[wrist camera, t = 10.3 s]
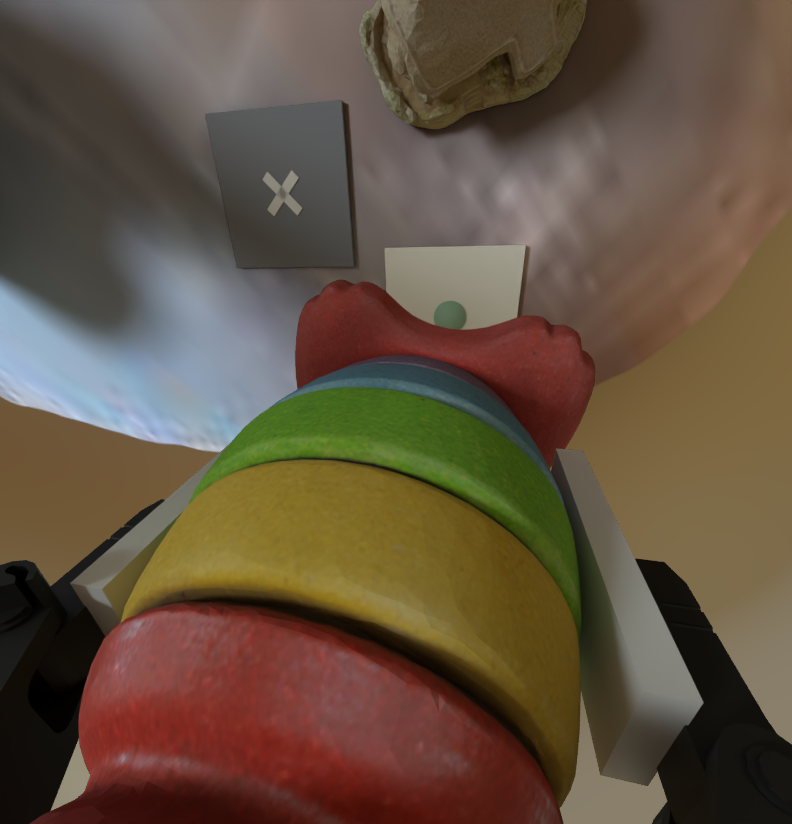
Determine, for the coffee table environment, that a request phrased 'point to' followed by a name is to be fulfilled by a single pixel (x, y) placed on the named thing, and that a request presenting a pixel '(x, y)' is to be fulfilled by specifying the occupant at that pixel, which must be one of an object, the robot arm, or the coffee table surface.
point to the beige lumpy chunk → (465, 53)
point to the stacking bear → (360, 595)
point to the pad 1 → (285, 184)
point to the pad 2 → (457, 283)
